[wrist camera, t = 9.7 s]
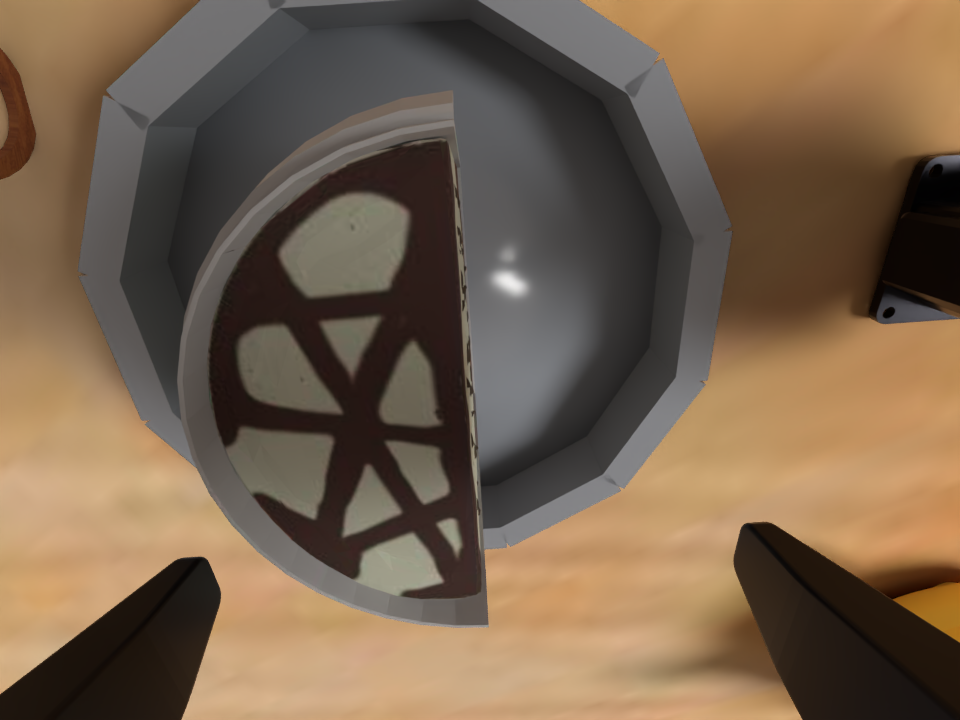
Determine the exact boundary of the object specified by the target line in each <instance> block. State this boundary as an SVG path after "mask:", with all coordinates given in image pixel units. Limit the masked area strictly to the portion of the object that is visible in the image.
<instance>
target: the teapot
mask: <svg viewBox="0 0 960 720" xmlns="http://www.w3.org/2000/svg"><path fill="white" fill-rule="evenodd" d="M892 600H894V601H895V602H897V603H898V604H900V605H902V606H903V607H905V608H906V609H908V610H909V611H911V612H913V613H914V614H916V615H917V616H919V617H920V618H922V619H924V620H925V621H927V622H928V623H930V624H931V625H933V626H935V627H936V628H938V629H939V630H941V631H943V632H944V633H946V634H947V635H949V636H950V637H952V638H954V639H955V640H957V641H958V642H960V583H954V582H946V583H942V584H939V585H937V586H935V587H933V588H929V589H925V590H921V591H917V592H913V593H910V594H907V595H904V596H900V597H897V598H895V599H892Z"/></svg>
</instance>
